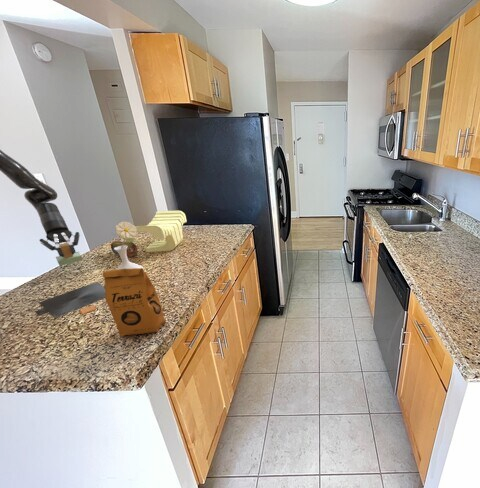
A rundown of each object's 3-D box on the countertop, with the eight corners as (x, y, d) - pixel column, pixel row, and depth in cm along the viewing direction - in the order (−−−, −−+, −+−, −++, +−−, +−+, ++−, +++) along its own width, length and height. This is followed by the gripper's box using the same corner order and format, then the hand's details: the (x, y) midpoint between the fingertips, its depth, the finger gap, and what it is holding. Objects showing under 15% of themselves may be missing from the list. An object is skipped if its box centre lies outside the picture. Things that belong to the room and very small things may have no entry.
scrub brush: (59, 265, 117) (52, 249, 113) (57, 261, 119) (50, 245, 115) (82, 260, 122) (76, 244, 118) (80, 256, 125) (74, 240, 121)
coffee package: (157, 336, 82) (138, 275, 74) (114, 340, 81) (90, 278, 72) (170, 316, 91) (154, 260, 83) (132, 320, 90) (112, 263, 82)
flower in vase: (116, 284, 112) (98, 229, 103) (111, 275, 120) (93, 223, 110) (151, 273, 121) (136, 222, 112) (144, 265, 128) (130, 217, 119)
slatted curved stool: (169, 256, 138) (161, 225, 132) (137, 258, 137) (127, 226, 130) (190, 237, 166) (184, 210, 159) (163, 238, 164) (157, 211, 158)
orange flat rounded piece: (83, 317, 91) (81, 314, 90) (81, 313, 93) (79, 309, 93) (97, 312, 94) (96, 308, 93) (95, 307, 96) (93, 304, 96)
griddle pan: (46, 325, 87) (45, 322, 87) (30, 308, 96) (29, 305, 96) (123, 293, 106) (123, 290, 105) (104, 281, 114) (103, 279, 114)
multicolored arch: (112, 255, 140) (107, 240, 137) (118, 253, 143) (113, 238, 140) (135, 258, 137) (130, 243, 134) (140, 255, 140) (136, 241, 137)
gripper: (30, 222, 112) (44, 256, 110) (73, 216, 122) (87, 246, 120) (34, 231, 118) (48, 263, 115) (75, 224, 128) (89, 253, 125)
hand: (68, 254), depth 117 cm, fingers closed on scrub brush, 3 cm apart
